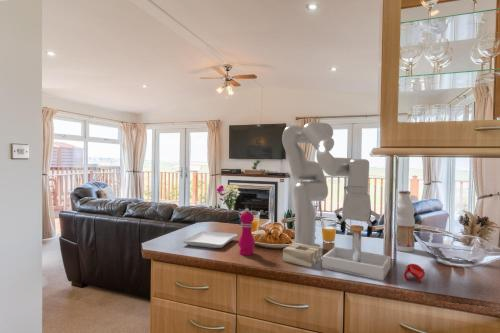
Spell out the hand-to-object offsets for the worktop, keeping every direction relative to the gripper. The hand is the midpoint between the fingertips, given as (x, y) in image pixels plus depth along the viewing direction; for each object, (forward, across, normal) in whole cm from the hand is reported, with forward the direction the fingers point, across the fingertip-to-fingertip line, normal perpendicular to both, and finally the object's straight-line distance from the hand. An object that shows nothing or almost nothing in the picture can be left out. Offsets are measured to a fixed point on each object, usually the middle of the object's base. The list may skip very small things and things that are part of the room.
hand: (355, 234), depth 119 cm
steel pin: (+12, +1, 0) cm, 12 cm away
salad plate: (+15, -68, -6) cm, 70 cm away
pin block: (+14, -20, -4) cm, 25 cm away
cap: (+13, +21, -2) cm, 25 cm away
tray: (+13, +1, 0) cm, 13 cm away
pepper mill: (+14, -44, -10) cm, 47 cm away
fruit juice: (+14, +13, +40) cm, 44 cm away
